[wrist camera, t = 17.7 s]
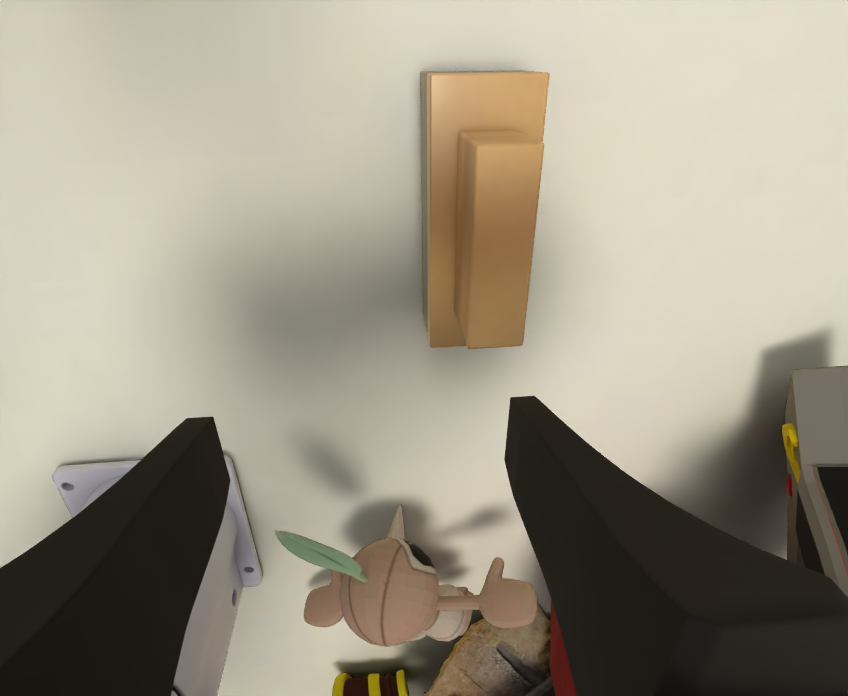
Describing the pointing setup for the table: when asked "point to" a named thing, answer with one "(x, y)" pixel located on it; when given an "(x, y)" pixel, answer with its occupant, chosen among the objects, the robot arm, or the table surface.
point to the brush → (479, 202)
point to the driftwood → (497, 660)
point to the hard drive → (543, 689)
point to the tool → (818, 471)
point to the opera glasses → (371, 685)
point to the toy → (404, 592)
